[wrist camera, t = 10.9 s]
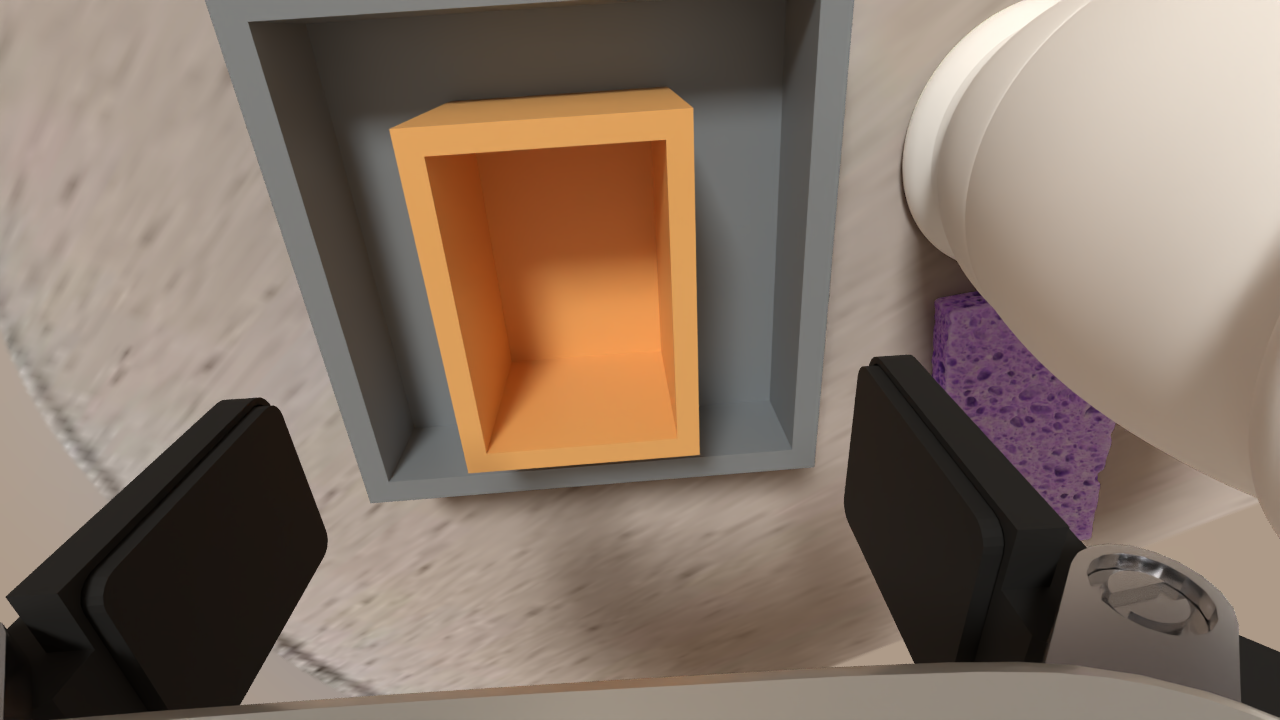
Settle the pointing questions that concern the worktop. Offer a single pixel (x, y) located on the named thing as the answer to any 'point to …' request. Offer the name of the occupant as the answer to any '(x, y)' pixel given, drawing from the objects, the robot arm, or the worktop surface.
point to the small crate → (560, 272)
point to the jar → (1123, 211)
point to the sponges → (1022, 407)
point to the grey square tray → (541, 65)
